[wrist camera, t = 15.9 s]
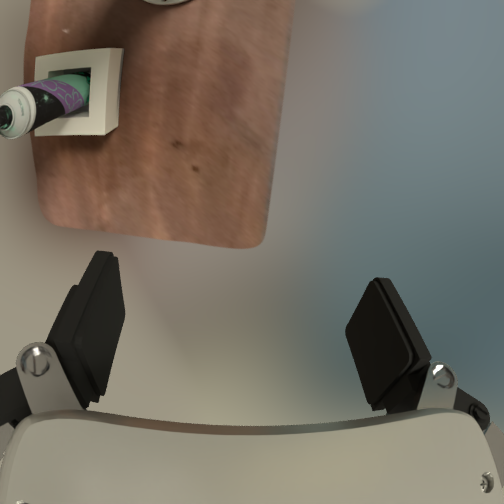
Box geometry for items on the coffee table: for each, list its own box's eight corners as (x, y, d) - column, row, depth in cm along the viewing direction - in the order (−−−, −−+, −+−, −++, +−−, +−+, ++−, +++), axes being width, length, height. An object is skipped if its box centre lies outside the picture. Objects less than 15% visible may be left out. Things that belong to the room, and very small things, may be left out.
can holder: (54, 55, 31) (35, 57, 27) (124, 48, 33) (110, 47, 28) (52, 126, 38) (34, 136, 33) (118, 125, 40) (104, 135, 35)
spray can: (86, 112, 37) (5, 157, 21) (61, 95, 34) (-27, 132, 18) (105, 82, 35) (23, 108, 18) (78, 65, 32) (-11, 84, 16)
